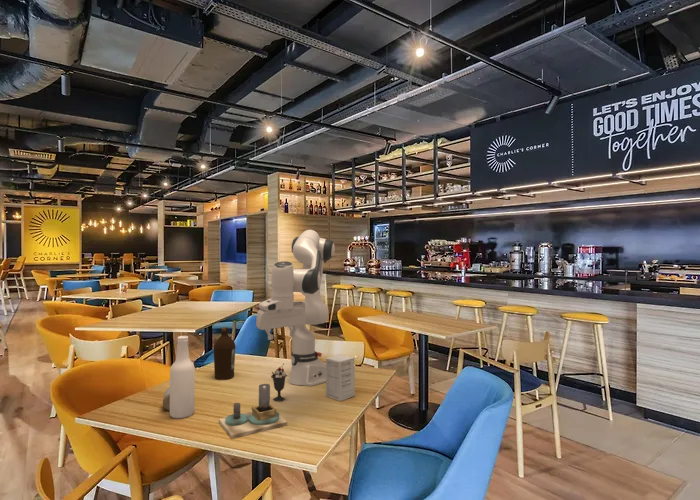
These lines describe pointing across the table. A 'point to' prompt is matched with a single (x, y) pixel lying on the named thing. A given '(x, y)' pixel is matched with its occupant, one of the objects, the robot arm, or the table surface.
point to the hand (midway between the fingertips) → (281, 337)
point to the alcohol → (182, 382)
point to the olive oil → (224, 356)
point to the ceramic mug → (167, 399)
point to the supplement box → (340, 377)
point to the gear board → (251, 421)
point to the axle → (264, 397)
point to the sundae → (279, 382)
